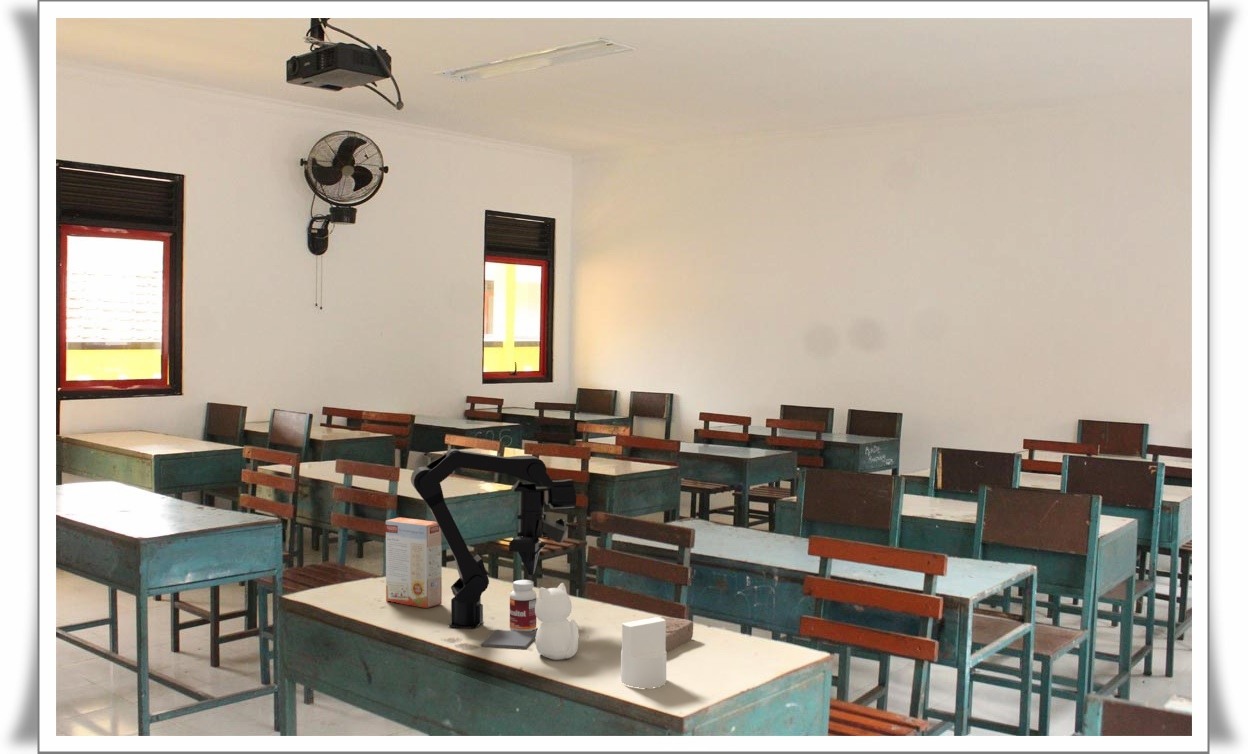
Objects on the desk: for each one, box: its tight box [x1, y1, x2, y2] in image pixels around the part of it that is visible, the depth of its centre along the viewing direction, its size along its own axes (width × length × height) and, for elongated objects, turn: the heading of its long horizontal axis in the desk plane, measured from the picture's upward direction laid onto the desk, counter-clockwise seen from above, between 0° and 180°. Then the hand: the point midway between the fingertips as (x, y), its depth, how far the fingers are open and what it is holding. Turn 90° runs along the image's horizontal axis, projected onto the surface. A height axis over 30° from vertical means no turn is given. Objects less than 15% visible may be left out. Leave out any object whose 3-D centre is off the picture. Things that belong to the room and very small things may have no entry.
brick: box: [659, 616, 694, 653], centre depth 248 cm, size 17×8×5 cm, turn 147°
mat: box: [480, 629, 537, 650], centre depth 251 cm, size 10×11×1 cm
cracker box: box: [385, 517, 443, 609], centre depth 283 cm, size 14×6×21 cm, turn 58°
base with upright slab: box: [620, 616, 667, 689], centre depth 223 cm, size 9×9×12 cm
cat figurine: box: [535, 582, 579, 661], centre depth 239 cm, size 9×12×15 cm
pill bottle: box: [509, 579, 538, 632], centre depth 260 cm, size 6×6×11 cm
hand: (531, 574), depth 267 cm, fingers closed
